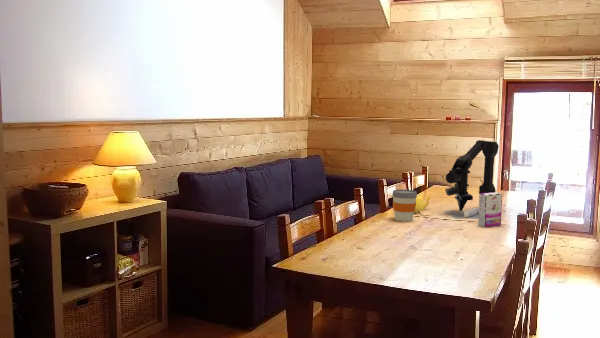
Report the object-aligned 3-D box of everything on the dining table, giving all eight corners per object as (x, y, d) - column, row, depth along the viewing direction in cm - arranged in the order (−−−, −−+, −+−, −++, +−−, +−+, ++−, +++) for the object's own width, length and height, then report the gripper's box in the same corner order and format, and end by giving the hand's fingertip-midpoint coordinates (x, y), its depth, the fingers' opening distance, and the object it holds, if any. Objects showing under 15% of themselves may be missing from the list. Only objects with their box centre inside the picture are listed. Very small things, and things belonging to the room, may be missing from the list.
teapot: (431, 212, 321) (432, 195, 320) (413, 214, 314) (414, 196, 313) (414, 208, 333) (415, 191, 332) (396, 210, 326) (397, 193, 325)
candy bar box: (493, 223, 294) (495, 191, 292) (501, 225, 289) (503, 193, 287) (477, 225, 289) (478, 193, 287) (484, 227, 284) (486, 194, 282)
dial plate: (479, 213, 319) (479, 211, 319) (493, 221, 299) (493, 218, 299) (443, 213, 318) (443, 211, 318) (455, 221, 298) (455, 218, 298)
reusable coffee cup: (400, 216, 309) (401, 188, 308) (420, 220, 300) (421, 191, 299) (386, 219, 301) (387, 191, 299) (406, 223, 292) (407, 194, 290)
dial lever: (475, 211, 316) (475, 206, 316) (484, 212, 313) (484, 207, 313) (461, 216, 302) (461, 210, 302) (470, 217, 299) (470, 212, 299)
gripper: (441, 179, 318) (440, 207, 320) (452, 184, 299) (451, 214, 301) (461, 179, 318) (460, 207, 320) (473, 184, 300) (472, 214, 302)
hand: (460, 210), depth 311 cm, fingers closed
